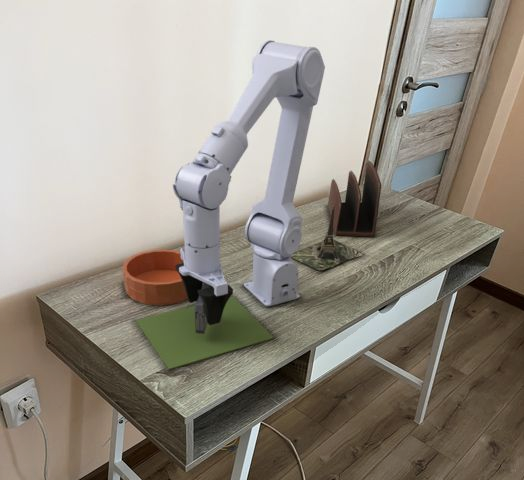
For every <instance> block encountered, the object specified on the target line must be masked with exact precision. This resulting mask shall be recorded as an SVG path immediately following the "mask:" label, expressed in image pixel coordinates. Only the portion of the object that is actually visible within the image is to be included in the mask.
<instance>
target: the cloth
mask: <svg viewBox="0 0 524 480" xmlns="http://www.w3.org/2000/svg"><path fill="white" fill-rule="evenodd" d="M195 306H196V304H194V305H189V306H187V307H183V308H179V309H175V310H171V311H165V312H163V313H158V314H155V315H151V316H148V317H141V318H139V319H136V320H135V323H136V324H137V325H138V326H139V328H140V329H141V331H142V332H143V334H144V335H145V337H146V338H147V340H148V341H149V343H150V344H151V346H152V347H153V349H154V350H155V351H156V353H157V355H158V356H159V358H161V361H162V362H163V364H164V365H165V366H166V368H167V370H168V371H171V370H174V369H178V368H182V367H184V366H187V365H191V364H195V363H198V362H201V361H205V360H207V359H210V358H211V359H212V358H214V357H218V356H221V355H224V354H228V353H231V352H234V351H237V350H241V349H244V348H248V347H251V346H254V345H257V344H261V343H265V342H267V341H271V340H274V338H275V337H274V335H272V334H271V333H270V332H269V331H268V330H267V329H266V328H265V327H264V326H263V324H261V323H260V322H259V320H257V319H256V318H255V317H254V316H253V315H252V314H251V313H250V311H248V310H247V309H246V308H245V307H244V306H243V304H241V303H240V301H238V300H237V298H236V297H235V296H233V295H231V297H230V298H229V299H228V301H227V303H226V305H225V307H224V310H223V313H222V317H221V320H220V323H216V324H213V325H209V324H207V327H206V330H205V334H199V333H196V330H195Z"/></svg>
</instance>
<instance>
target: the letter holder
mask: <svg viewBox="0 0 524 480" xmlns="http://www.w3.org/2000/svg"><path fill="white" fill-rule="evenodd" d="M365 164H366V165H365V172H364V180H363V188H362V192H361V188H360V184H359V182H358V179H357V176H356V174H355V173H354V172H353V170H349V171H348V176H347V185H346V193H345V199H344V201H342V198H341V193H340V189H339V187H338V184H337V182H336V179H334V178H332V179H331V183H330V188H329V195H328V201H327V207H328V212H329V215H330V217H331V213H332V206H333V205H334V206H335V209H334V219H333V233H334V236H342V237H343V236H344V237H345V236H346V237H365V238H366V237H370V238H374V237H375V235H376V228H377V221H378V215H379V209H380V208H379V207H380V201H381V200H380V199H381V198H380V197H381V192H382V182H381V179H380V176H379V173H378V171H377V169H376V167H375V165H374V164H373V163H372V161H370V160H367V161H366V163H365Z"/></svg>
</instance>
